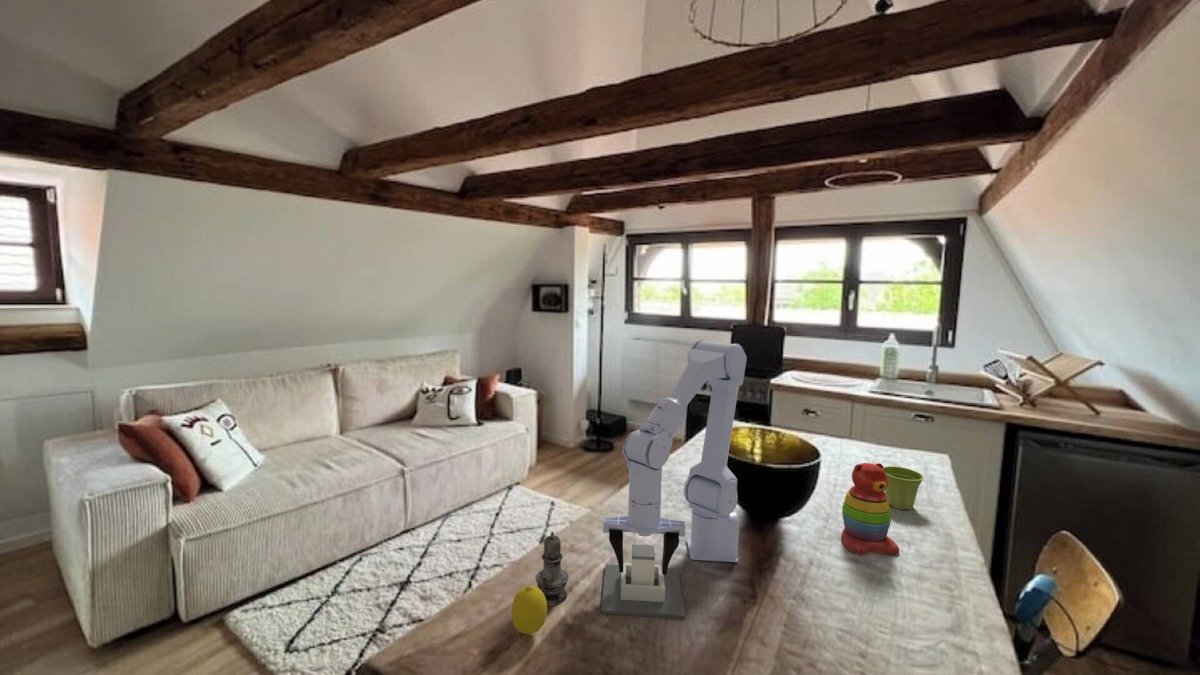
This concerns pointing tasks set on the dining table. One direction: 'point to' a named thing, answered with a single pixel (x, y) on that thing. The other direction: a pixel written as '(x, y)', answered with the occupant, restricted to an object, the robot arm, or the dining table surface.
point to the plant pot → (902, 486)
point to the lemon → (529, 610)
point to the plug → (642, 565)
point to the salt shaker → (552, 572)
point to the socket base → (642, 594)
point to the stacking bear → (868, 512)
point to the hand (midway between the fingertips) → (642, 570)
